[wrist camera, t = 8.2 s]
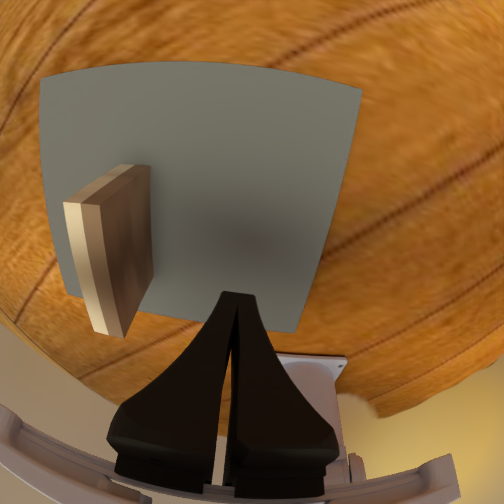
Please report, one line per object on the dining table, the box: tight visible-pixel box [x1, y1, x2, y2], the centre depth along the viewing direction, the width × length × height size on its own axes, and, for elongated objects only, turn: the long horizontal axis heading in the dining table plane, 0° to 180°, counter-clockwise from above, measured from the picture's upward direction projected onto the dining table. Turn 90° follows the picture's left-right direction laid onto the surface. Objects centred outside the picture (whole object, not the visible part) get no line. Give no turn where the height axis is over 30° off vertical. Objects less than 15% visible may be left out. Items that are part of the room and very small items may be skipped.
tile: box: [63, 164, 154, 339], centre depth 14 cm, size 8×2×6 cm, turn 172°
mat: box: [39, 61, 363, 333], centre depth 17 cm, size 18×20×1 cm
